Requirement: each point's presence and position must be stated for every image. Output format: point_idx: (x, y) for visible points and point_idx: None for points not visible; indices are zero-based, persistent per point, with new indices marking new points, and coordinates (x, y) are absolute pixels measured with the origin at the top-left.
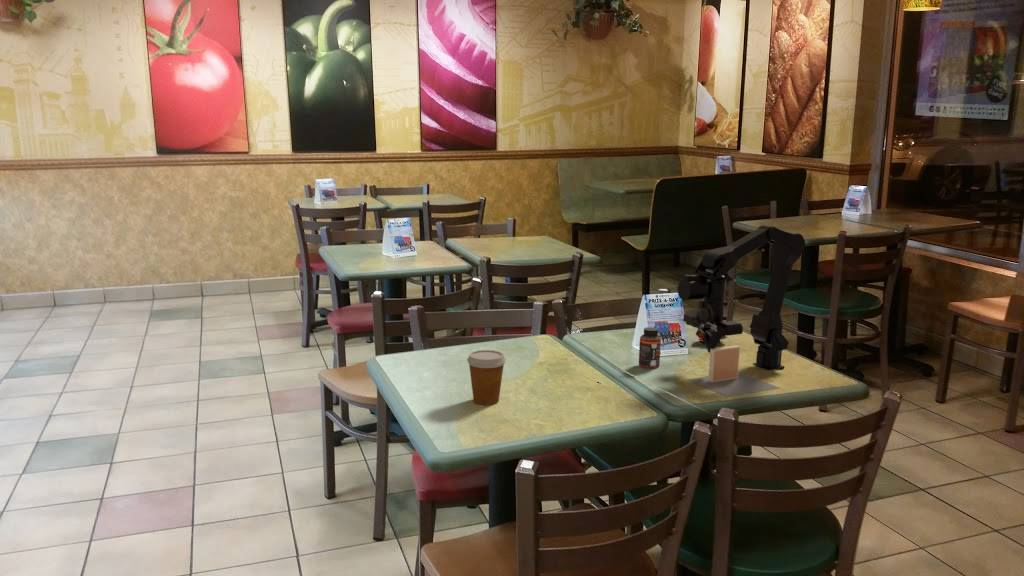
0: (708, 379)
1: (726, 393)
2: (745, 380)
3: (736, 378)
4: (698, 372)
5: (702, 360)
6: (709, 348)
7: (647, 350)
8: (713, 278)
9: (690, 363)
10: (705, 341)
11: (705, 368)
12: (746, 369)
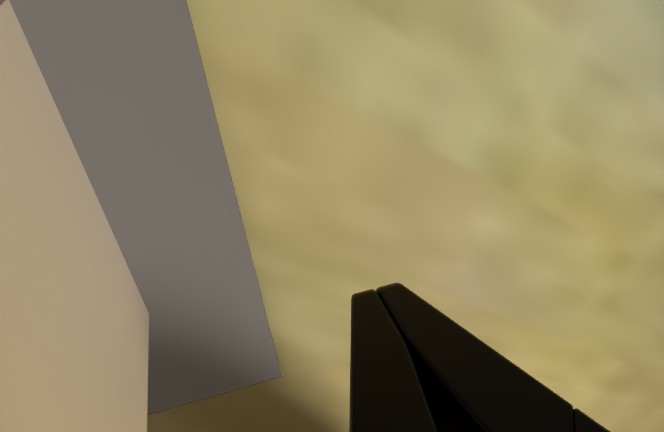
0: (2, 3)
1: None
2: None
3: None
4: (403, 71)
5: (629, 243)
6: (371, 340)
7: None
8: None
9: (638, 126)
10: (539, 395)
11: (473, 188)
12: (338, 421)
